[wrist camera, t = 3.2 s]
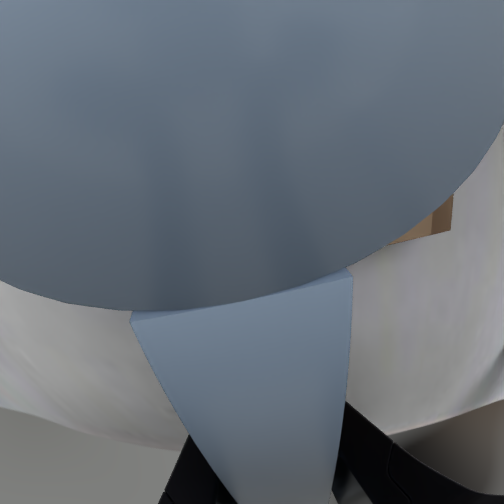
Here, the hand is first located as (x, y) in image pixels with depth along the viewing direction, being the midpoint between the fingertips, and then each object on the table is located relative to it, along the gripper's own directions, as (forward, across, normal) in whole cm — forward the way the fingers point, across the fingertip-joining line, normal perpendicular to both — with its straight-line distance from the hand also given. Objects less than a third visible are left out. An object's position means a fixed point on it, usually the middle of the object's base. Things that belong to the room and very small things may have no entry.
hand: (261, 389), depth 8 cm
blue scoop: (+3, 0, -6) cm, 7 cm away
